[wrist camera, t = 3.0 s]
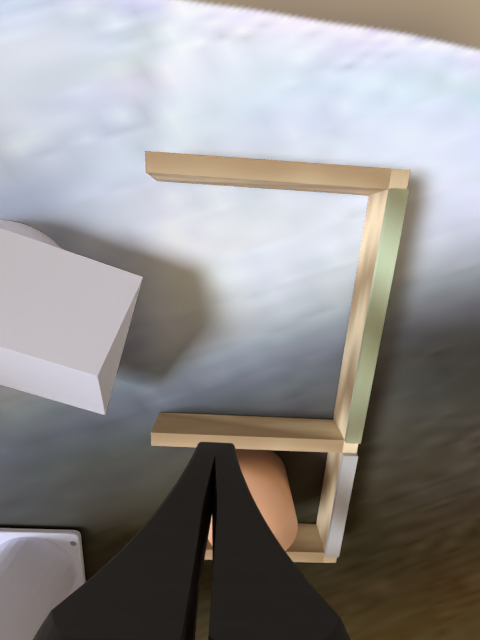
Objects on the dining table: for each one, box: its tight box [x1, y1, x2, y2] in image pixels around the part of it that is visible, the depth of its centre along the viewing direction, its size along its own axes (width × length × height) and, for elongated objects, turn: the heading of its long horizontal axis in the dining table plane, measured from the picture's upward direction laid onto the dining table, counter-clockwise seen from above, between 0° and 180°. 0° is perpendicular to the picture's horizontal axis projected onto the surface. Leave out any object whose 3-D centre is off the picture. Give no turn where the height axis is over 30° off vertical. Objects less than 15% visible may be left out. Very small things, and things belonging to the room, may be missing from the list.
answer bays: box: [145, 151, 410, 563], centre depth 20 cm, size 28×14×3 cm, turn 177°
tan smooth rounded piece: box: [208, 449, 298, 551], centre depth 22 cm, size 6×6×4 cm
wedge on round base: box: [0, 220, 143, 415], centre depth 17 cm, size 9×7×13 cm
